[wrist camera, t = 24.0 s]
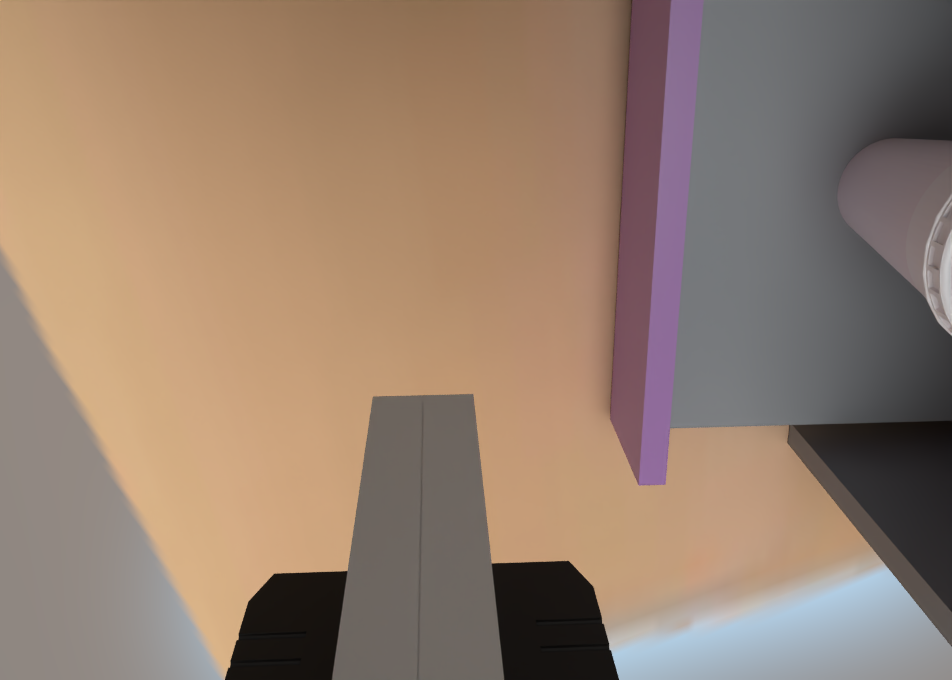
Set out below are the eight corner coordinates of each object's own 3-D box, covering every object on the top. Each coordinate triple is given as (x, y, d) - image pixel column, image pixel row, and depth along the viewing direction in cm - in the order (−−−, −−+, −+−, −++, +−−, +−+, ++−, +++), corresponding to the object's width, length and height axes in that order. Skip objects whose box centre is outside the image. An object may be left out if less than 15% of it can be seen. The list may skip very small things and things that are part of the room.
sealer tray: (610, 418, 38) (638, 485, 33) (637, -99, 31) (679, -119, 26) (963, 409, 39) (1046, 473, 34) (1068, -100, 32) (1194, -120, 27)
